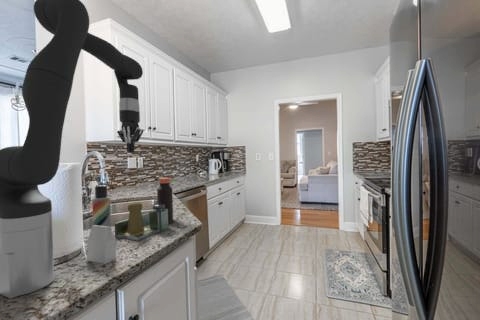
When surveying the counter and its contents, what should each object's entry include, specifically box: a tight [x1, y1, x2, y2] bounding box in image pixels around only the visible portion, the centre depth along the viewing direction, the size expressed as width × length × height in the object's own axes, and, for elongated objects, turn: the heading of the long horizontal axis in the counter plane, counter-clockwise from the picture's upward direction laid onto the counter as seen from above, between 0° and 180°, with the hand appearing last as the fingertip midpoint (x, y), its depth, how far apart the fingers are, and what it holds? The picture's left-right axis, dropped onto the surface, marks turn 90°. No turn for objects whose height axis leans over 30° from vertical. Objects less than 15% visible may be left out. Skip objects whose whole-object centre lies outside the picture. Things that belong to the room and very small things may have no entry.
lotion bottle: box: [91, 184, 112, 228], centre depth 86 cm, size 6×6×20 cm
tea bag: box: [86, 224, 117, 265], centre depth 68 cm, size 4×7×10 cm, turn 71°
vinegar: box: [156, 177, 174, 223], centre depth 108 cm, size 7×7×20 cm
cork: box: [127, 201, 144, 233], centre depth 90 cm, size 6×6×11 cm
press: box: [114, 209, 170, 242], centre depth 92 cm, size 16×12×8 cm
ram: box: [151, 203, 165, 211], centre depth 96 cm, size 5×5×8 cm
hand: (130, 152), depth 96 cm, fingers closed
